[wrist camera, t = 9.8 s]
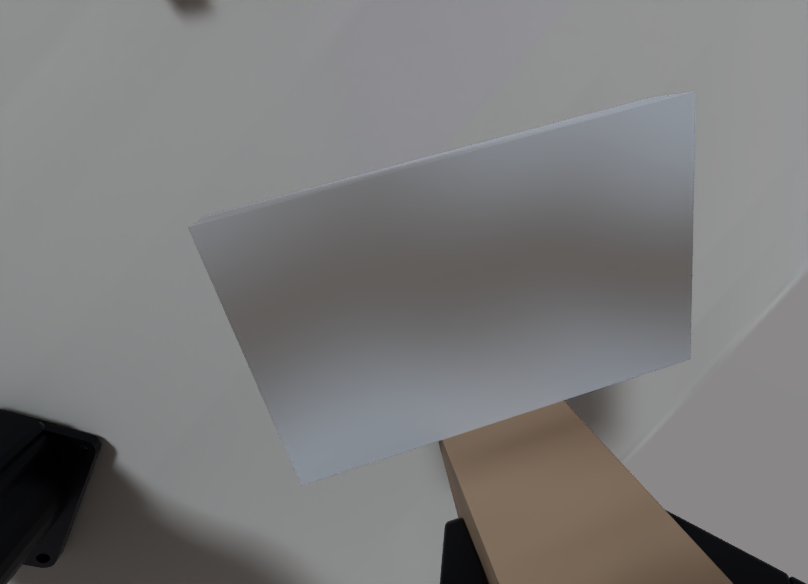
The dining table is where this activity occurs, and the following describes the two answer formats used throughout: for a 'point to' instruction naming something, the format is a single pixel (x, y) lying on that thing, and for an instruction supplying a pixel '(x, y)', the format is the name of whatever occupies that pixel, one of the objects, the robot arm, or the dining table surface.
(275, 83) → the dining table surface
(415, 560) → the dining table surface
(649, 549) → the turner
